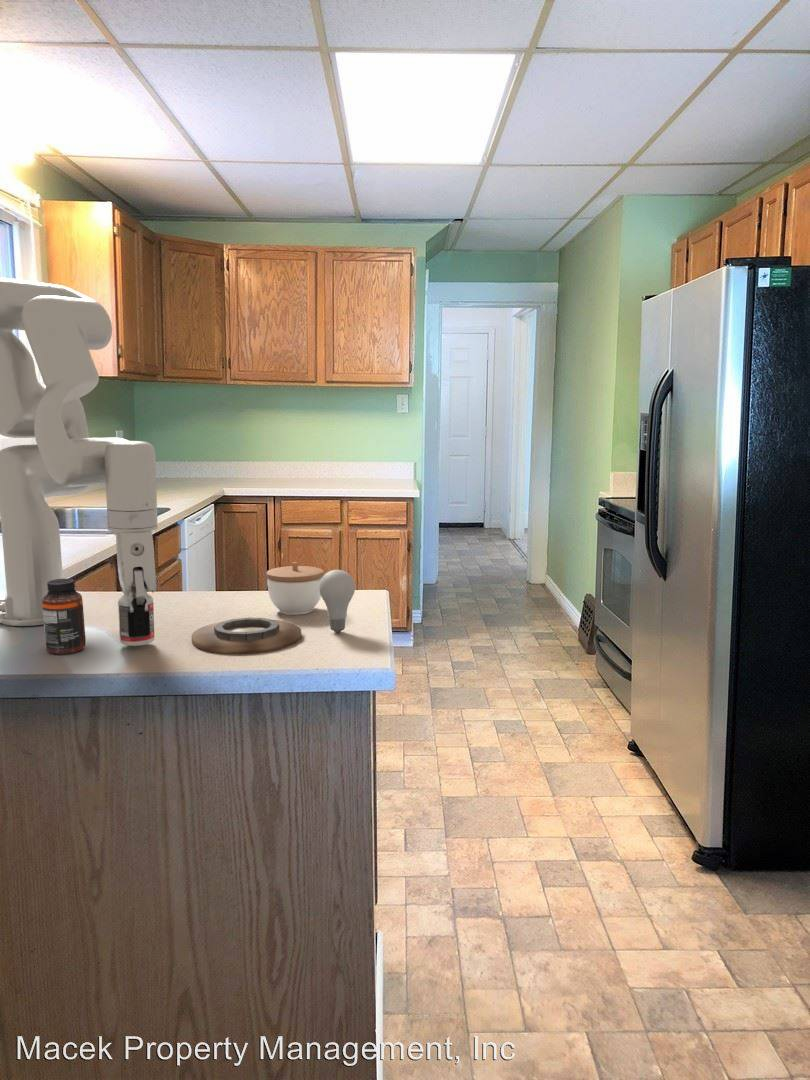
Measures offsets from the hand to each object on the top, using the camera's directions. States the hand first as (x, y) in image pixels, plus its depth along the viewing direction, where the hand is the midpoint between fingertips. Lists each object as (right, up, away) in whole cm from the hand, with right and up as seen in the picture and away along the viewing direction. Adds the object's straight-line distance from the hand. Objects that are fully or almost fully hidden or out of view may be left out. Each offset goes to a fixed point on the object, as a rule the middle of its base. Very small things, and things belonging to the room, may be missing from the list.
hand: (136, 629), depth 134 cm
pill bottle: (0, -2, 0) cm, 2 cm away
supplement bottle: (-11, -3, -2) cm, 11 cm away
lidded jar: (+23, +1, +24) cm, 33 cm away
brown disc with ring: (+17, -2, +5) cm, 18 cm away
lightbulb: (+32, -2, +9) cm, 33 cm away
